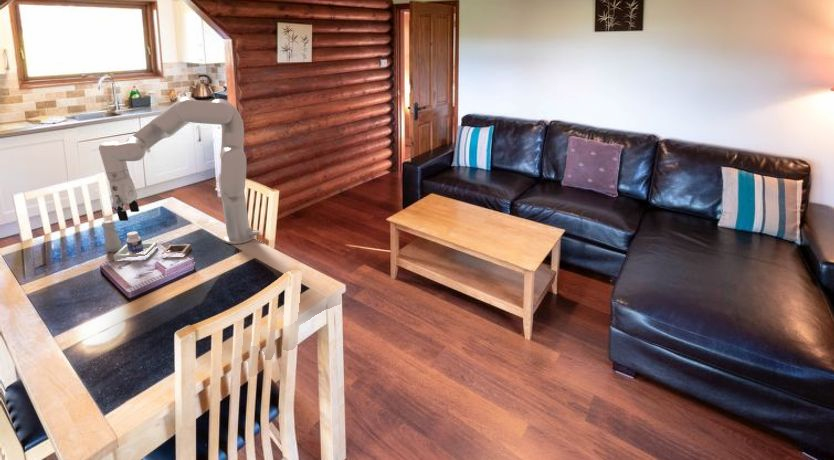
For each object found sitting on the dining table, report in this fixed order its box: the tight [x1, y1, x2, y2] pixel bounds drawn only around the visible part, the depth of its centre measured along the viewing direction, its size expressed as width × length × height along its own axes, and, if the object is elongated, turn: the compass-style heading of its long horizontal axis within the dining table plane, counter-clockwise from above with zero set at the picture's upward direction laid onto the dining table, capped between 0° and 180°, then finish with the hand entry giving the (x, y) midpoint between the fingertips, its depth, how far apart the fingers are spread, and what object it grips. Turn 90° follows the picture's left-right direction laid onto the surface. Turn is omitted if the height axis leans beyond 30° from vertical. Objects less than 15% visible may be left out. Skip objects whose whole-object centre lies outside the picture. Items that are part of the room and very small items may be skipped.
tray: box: [113, 241, 158, 261], centre depth 200 cm, size 12×12×3 cm
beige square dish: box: [161, 243, 192, 255], centre depth 201 cm, size 8×8×2 cm
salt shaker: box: [101, 220, 123, 253], centre depth 202 cm, size 6×6×13 cm
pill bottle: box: [126, 230, 143, 254], centre depth 199 cm, size 5×5×9 cm
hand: (129, 215), depth 194 cm, fingers open, 9 cm apart
